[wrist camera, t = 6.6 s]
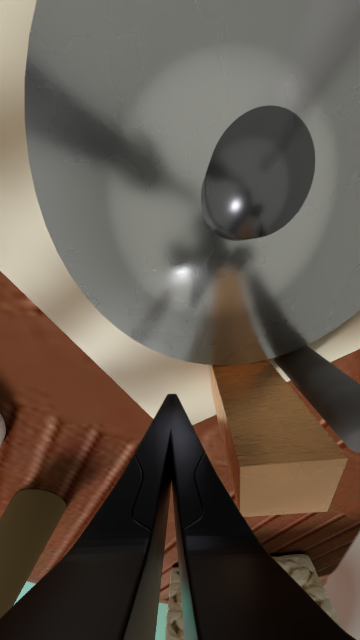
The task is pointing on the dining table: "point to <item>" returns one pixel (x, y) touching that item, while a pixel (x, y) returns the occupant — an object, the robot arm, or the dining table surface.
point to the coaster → (2, 429)
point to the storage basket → (292, 564)
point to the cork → (25, 539)
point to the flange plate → (210, 199)
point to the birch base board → (89, 324)
